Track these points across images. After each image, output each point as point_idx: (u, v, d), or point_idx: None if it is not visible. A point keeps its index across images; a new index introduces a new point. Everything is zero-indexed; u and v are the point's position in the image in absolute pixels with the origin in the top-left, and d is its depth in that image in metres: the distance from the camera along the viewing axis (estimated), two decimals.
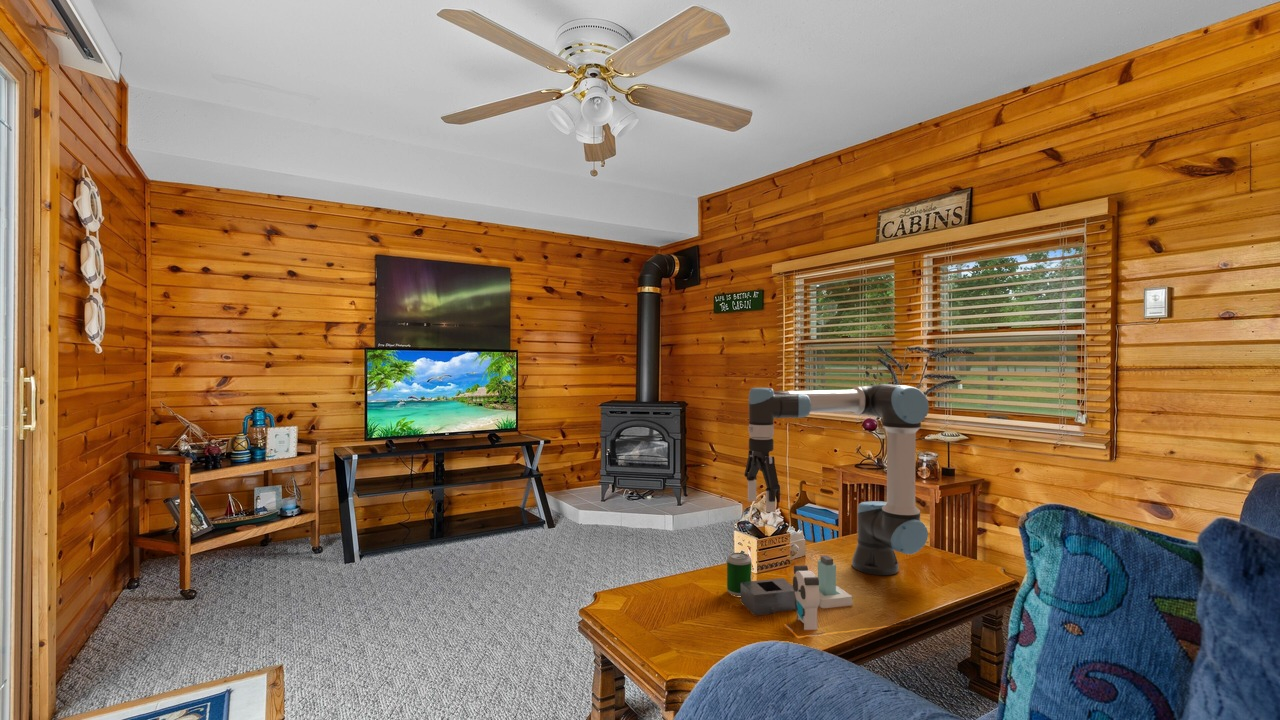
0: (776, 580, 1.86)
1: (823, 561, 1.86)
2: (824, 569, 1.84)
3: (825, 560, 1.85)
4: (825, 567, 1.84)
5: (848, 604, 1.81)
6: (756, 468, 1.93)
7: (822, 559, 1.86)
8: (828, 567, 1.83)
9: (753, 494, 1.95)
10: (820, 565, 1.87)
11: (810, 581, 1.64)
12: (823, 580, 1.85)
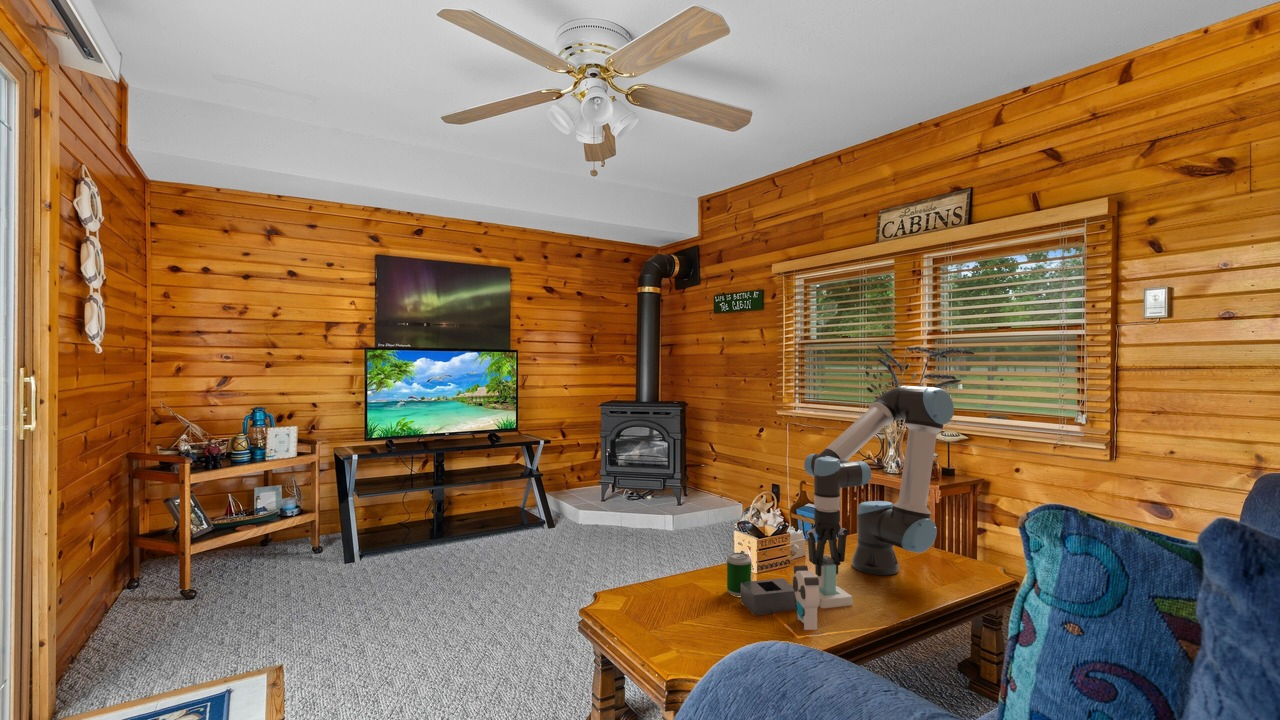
0: (776, 580, 1.86)
1: (823, 561, 1.86)
2: (824, 569, 1.84)
3: (825, 560, 1.85)
4: (825, 567, 1.84)
5: (848, 604, 1.81)
6: (831, 544, 1.86)
7: None
8: (828, 567, 1.83)
9: None
10: None
11: (810, 581, 1.64)
12: None
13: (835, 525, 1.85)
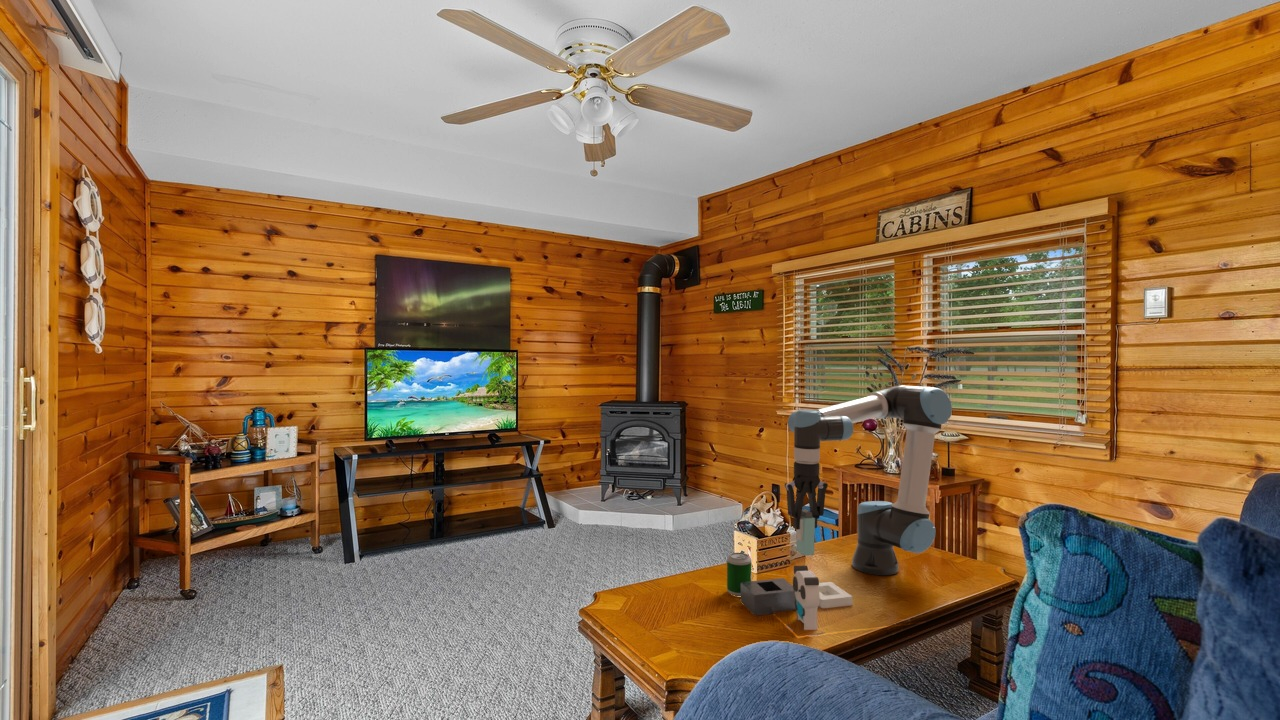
0: (776, 580, 1.86)
1: (802, 514, 1.84)
2: (803, 522, 1.82)
3: (804, 513, 1.83)
4: (804, 520, 1.82)
5: (848, 604, 1.81)
6: (810, 497, 1.84)
7: None
8: (807, 520, 1.81)
9: None
10: None
11: (810, 581, 1.64)
12: None
13: (814, 478, 1.83)
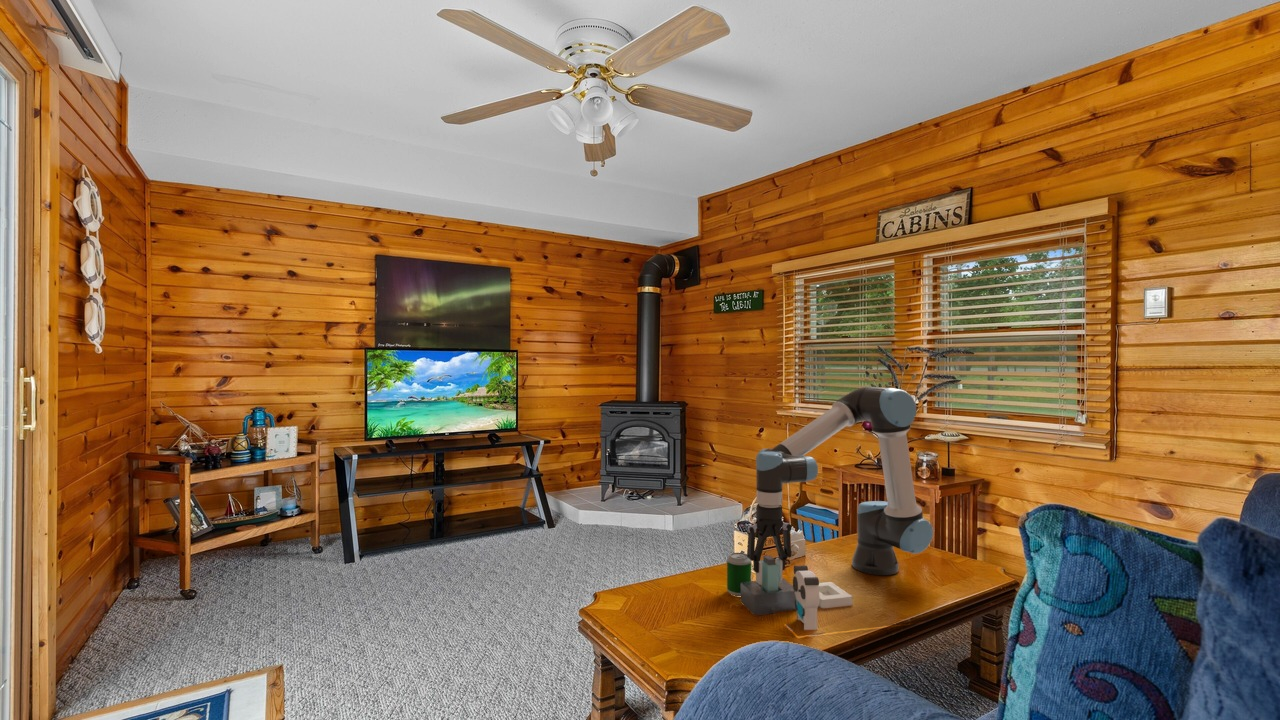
0: None
1: (765, 561, 1.81)
2: (766, 569, 1.80)
3: (767, 560, 1.80)
4: (767, 567, 1.79)
5: (848, 604, 1.81)
6: (775, 540, 1.82)
7: (765, 559, 1.82)
8: (770, 567, 1.79)
9: (778, 574, 1.82)
10: (762, 565, 1.82)
11: (810, 581, 1.64)
12: (765, 581, 1.80)
13: (777, 521, 1.81)
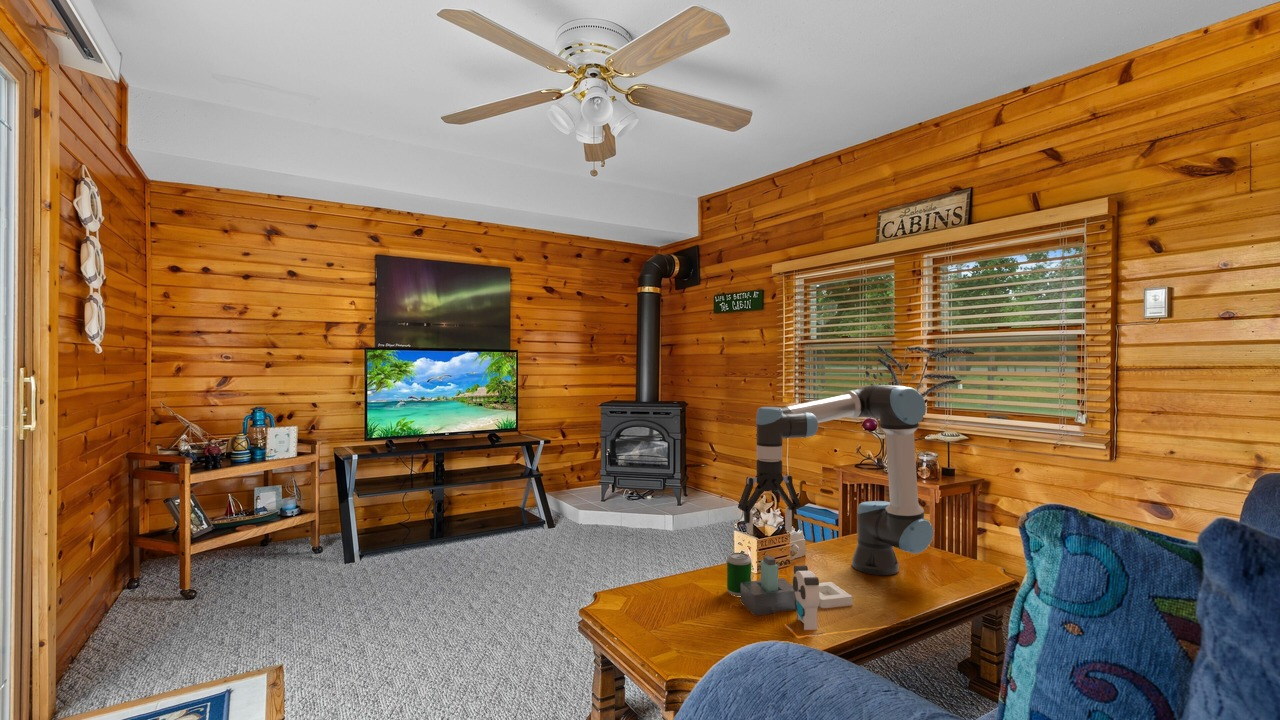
0: None
1: (765, 561, 1.81)
2: (766, 569, 1.80)
3: (767, 560, 1.80)
4: (767, 567, 1.79)
5: (848, 604, 1.81)
6: (780, 493, 1.82)
7: (765, 559, 1.82)
8: (770, 567, 1.79)
9: (787, 523, 1.82)
10: (762, 565, 1.82)
11: (810, 581, 1.64)
12: (765, 581, 1.80)
13: (776, 477, 1.81)
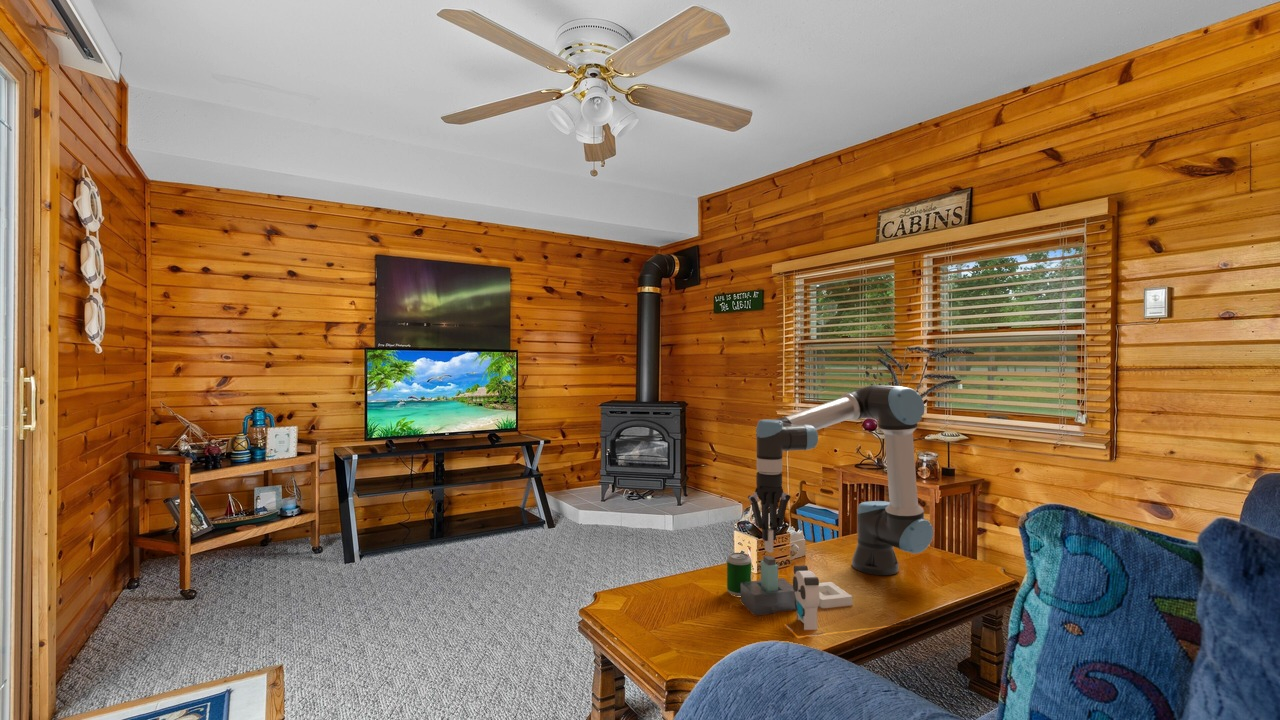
0: None
1: (765, 561, 1.81)
2: (766, 569, 1.80)
3: (767, 560, 1.80)
4: (767, 567, 1.79)
5: (848, 604, 1.81)
6: (771, 508, 1.81)
7: (765, 559, 1.82)
8: (770, 567, 1.79)
9: None
10: (762, 565, 1.82)
11: (810, 581, 1.64)
12: (765, 581, 1.80)
13: (778, 488, 1.81)
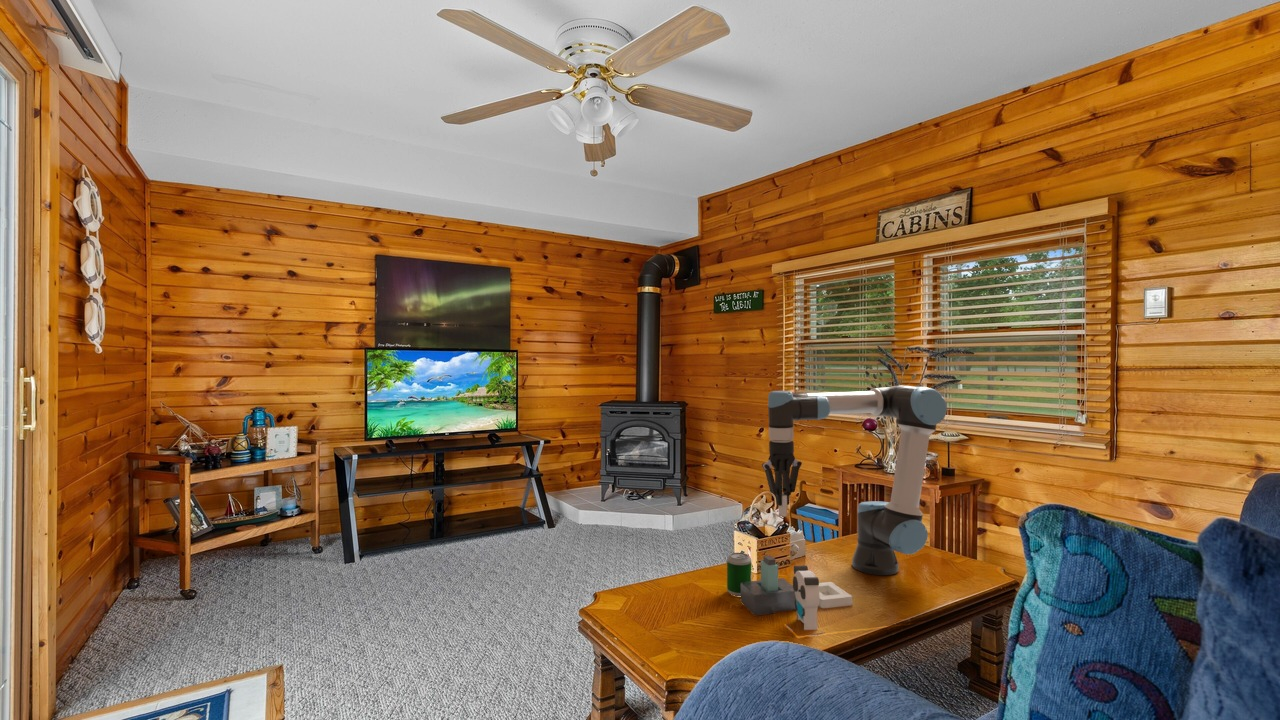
0: None
1: (765, 561, 1.81)
2: (766, 569, 1.80)
3: (767, 560, 1.80)
4: (767, 567, 1.79)
5: (848, 604, 1.81)
6: (784, 475, 1.91)
7: (765, 559, 1.82)
8: (770, 567, 1.79)
9: None
10: (762, 565, 1.82)
11: (810, 581, 1.64)
12: (765, 581, 1.80)
13: (790, 455, 1.91)
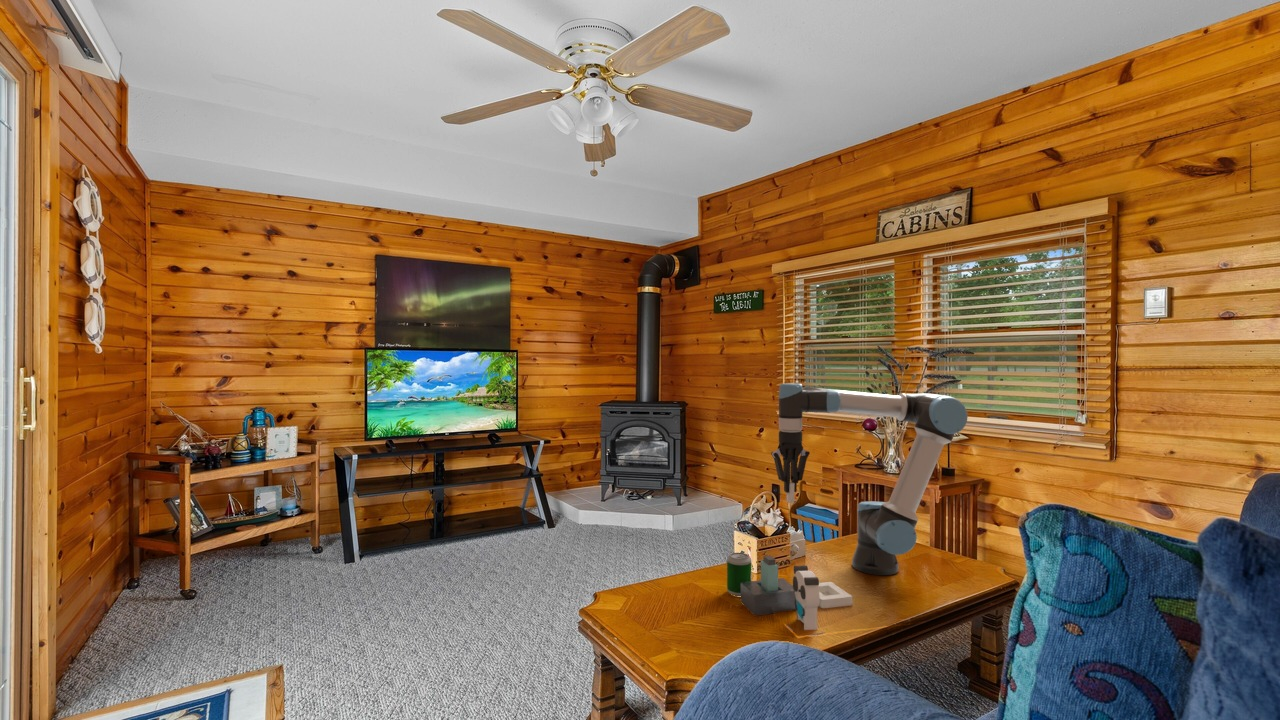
0: None
1: (765, 561, 1.81)
2: (766, 569, 1.80)
3: (767, 560, 1.80)
4: (767, 567, 1.79)
5: (848, 604, 1.81)
6: (792, 463, 2.00)
7: (765, 559, 1.82)
8: (770, 567, 1.79)
9: None
10: (762, 565, 1.82)
11: (810, 581, 1.64)
12: (765, 581, 1.80)
13: (798, 445, 2.00)
